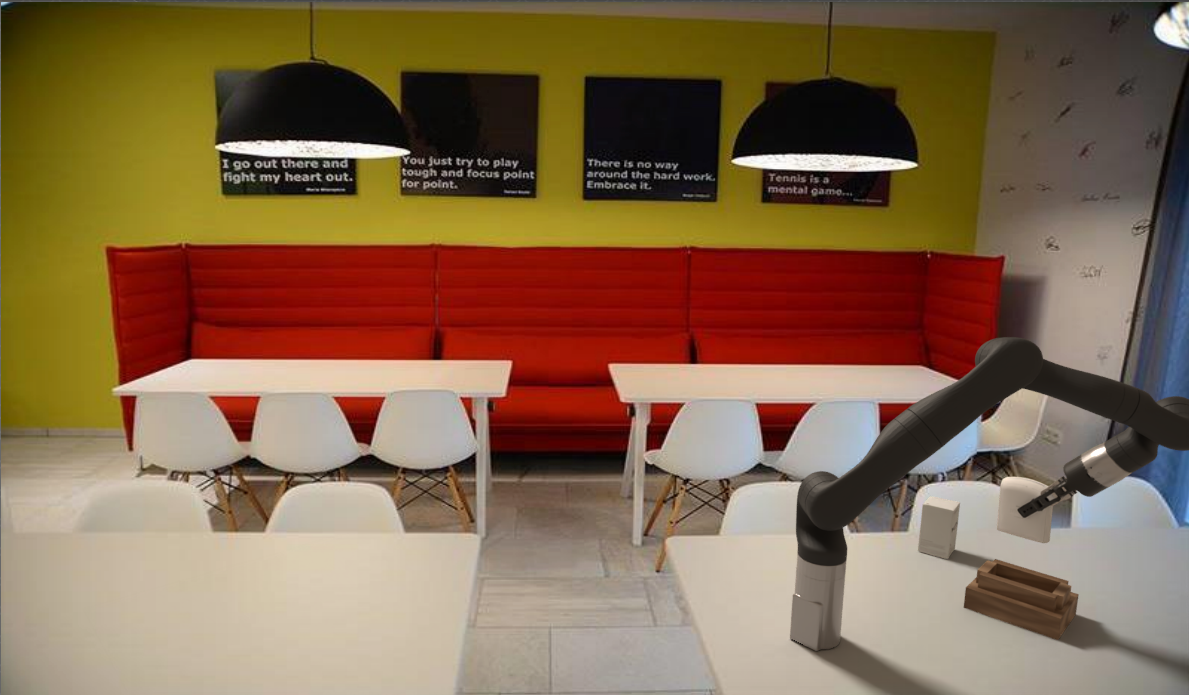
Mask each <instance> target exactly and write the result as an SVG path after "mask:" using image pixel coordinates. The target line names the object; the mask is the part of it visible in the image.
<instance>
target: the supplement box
mask: <svg viewBox="0 0 1189 695" xmlns="http://www.w3.org/2000/svg"><path fill="white" fill-rule="evenodd" d="M960 505H961V502H960V501H956V500H951V499H946V498H942V497H937V496H933V495H932V496H931V495H930V496H929V497H928V498H927V499H926V500H925V501H924V502H923V503H922V506H921V508H922V509H921V517H920V526H919V537H918V544H917V545H918V546H917V552H919V553H922V554H926V555H930V556H934V557H937V558H942V559H944V560H948V559H949V558H950V556H951V555H952V553H953V552H954V551H955V550H956V544H957V543H956V542H957V535H958V525H959V517H960V515H959V514H960V508H961V506H960Z"/></svg>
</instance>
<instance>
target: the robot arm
mask: <svg viewBox="0 0 1189 695" xmlns="http://www.w3.org/2000/svg"><path fill="white" fill-rule="evenodd" d="M974 364H975V366H974V368H972V369H971V370H970V371H969V372H968V373H967V374H964V376H962V377H961V378H960V379H959V380H957V381H956V382H953V383H952V384H950V385H948V386H947V385H946V387H944V388H941V389H939V390H937V391H934V392H933V393H931V394H929V395H927V396H925V397H923V398H922V399H920V400H918V401H916V402H915V403H912V404H911V405H910V406H909V407H908V408H906V409H905V410H904V411H902V412H901V413H900V414H899V415H897V416H896V417H895V418H893V419H892V420H891V421H890V422H888V424H887V425H885V427H884V428H883V429H882V430H881V431H880V432H879V434H878V436H877V437H876V438H875V440H874V442H873V444H872V446H871V447H870V449H869V450H868V452H867V453H866V455H865V456H864V457H863V458H862V459H861V461H860V462H858V463H857V464H855V466H854V467H853V468H851V469H850V470H848V471H847V472H846V473H844V474H843V475H841V476H840V477H838V476H836V475H835V474H834V473H831V472H829V471H822V470H820V471H814V472H812V473H810V474H808V475H807V476H806V477H805V478H803V480H802V481H801V482H800V485H799V488H798V491H797V498H796V511H795V512H796V513H795V515H796V516H795V534H796V542H797V550H796V551H797V555H796V567H795V568H796V570H795V582H794V583H795V584H794V593H793V594H792V600H791V602H792V603H791V616H790V633H789V639H791V640H792V639H793V640H792V641H794V640H795V641H794V642H796V641H797V642H796V643H798V642H799V643H798V644H800V643H801V644H800V645H802V644H803V646H805V647H806V648H809V649H811V650H813V651H815V652H818V651H820V650H829V649H833V647H834V648H836V647H837V646H839V644H840V642H841V634H842V633H841V632H842V624H843V623H842V622H843V621H842V620H843V619H842V618H843V609H844V597H845V596H844V595H845V585H846V584H845V583H846V570H847V559H848V543H847V540H846V537H845V533H844V527H846V526H848V525H849V524H850V523H851V524H852V522H853V521H854V520H856V519H857V518H858V517H859V516H860V515H861V514H862V513H863V512H864V511H865V510H866V509H867V508H868V507H869V506H870V505H871V504H873V502H874V501H875V500H876V499H877V498H879V497H880V496H881V495H882V494H883V493H884V492H885V491H886V490H888V489H889V488H890V487H892V486H893V485H894V484H896V483H897V482H898V481H900V480H901V479H902V478H904V476H906V475H907V474H909V473H910V472H911V471H913V469H915V468H917V466H918V465H920V464H922V463H923V462H924V461H926V460H928V458H930V457H932V456H933V455H934V454H936V453H937V452H938V451H939V450H941V448H943V447H945V446H946V445H947V444H948V443H949V442H950V441H951V440H952V439H953V440H954V438H955V437H957V436H958V435H959V434H960V433H962V432H963V431H965V429H967V428H968V427H969V426H970V425H972V424H973V423H975V421H976V420H978V419H979V417H981V416H982V415H983V414H984V413H986V412H988V411H989V410H990V409H991V408H993V407H994V406H996V405H997V404H999V403H1001V402H1002V401H1004V400H1005V399H1007V398H1009V397H1010V396H1012V395H1014V394H1016V393H1017V392H1018V391H1020V390H1022V389H1023V390H1027V391H1031V392H1035V393H1038V394H1041V395H1045V396H1047V397H1051V398H1053V399H1056V400H1058V401H1062V402H1064V403H1067V404H1069V405H1072V406H1075V407H1077V408H1080V409H1082V410H1084V411H1086V412H1089V413H1092V414H1095V415H1097V416H1099V417H1100V416H1101V417H1102V418H1106V419H1108V420H1109V421H1110V420H1111V421H1114V422H1116V423H1118V424H1119V423H1120V424H1122V425H1125V426H1128V427H1127V428H1126V429H1125V430H1123V431H1122V432H1120V433H1118V434H1116V435H1115V436H1112V437H1111V438H1109V439H1108V440H1106V441H1104V442H1102V443H1100V444H1098V445H1095V446H1093V447H1091V448H1090V449H1088V450H1086V451H1084V452H1083V453H1082V454H1080V455H1078V456H1076V457H1074V458H1073V459H1071V460H1069V461H1068V462H1066V463H1064V465H1063V467H1062V468H1063V473H1064V476H1061V477H1060V478H1057V479H1056V480H1055V481H1054V482H1052V484H1050V485H1048V486H1049V487H1048V488H1046V489H1044V490H1042V491H1041V495H1039V496H1038V497H1036V498H1033V499H1032V500H1031V501H1030V502H1028V503H1027V504H1025V505H1023V506H1021V507H1020V508H1018V509H1017V511H1018V512H1019V513H1020V515H1021V516H1022V517H1023V518H1026V517H1028V516H1030V515H1031V514H1033V513H1035V512H1037V511H1038V512H1039V511H1042V510H1043V509H1045V508H1047V507H1048V506H1053V507H1054V506H1055V505H1057V504H1059V503H1060V502H1063V501H1067V500H1069V499H1071V498H1072V497H1074V495H1076V494H1078V492H1079V494H1080V495H1082V496H1084V497H1089V498H1090V497H1091V498H1092V497H1095V495H1097V494H1099V493H1101V492H1103V491H1104V490H1106V489H1108V488H1110V487H1112V486H1114V485H1116V484H1117V483H1120V482H1121V481H1123V480H1124V479H1126V478H1127V477H1128V476H1129V475H1131V474H1132V473H1134V472H1136V471H1138V470H1140V469H1142V468H1144V467H1145V466H1147V465H1149V464H1151V463H1152V462H1154V461H1155V460H1156V458H1158V449H1159V445H1160V446H1162V447H1164V448H1166V449H1170V450H1174V451H1181V452H1184V451H1185V452H1187V451H1189V398H1187V397H1185V396H1176V395H1175V396H1167V397H1164V398H1161V399H1159V400H1157V401H1156V400H1155V399H1154V398H1153V397H1152V395H1151V394H1150V393H1149V392H1147V391H1145V390H1143V389H1142V388H1141V389H1140V388H1139V387H1136V386H1132V385H1130V384H1128V383H1124V382H1121V381H1119V380H1116V379H1112V378H1109V377H1106V376H1102V375H1098V374H1095V373H1091V372H1087V371H1083V370H1079V369H1075V368H1072V367H1068V366H1065V365H1062V364H1058V363H1055V362H1054V361H1050V360H1047V359H1045V358H1044V356H1043V352H1042V350H1041V349H1040V347H1039V346H1038V345H1037V344H1036V343H1034V341H1030V340H1029V339H1026V338H1024V337H1023V338H1022V337H1015V336H1011V337H1010V336H1007V337H1006V336H1005V337H1004V336H1003V337H996V338H993V339H990V340H988V341H985V342H984V343H983V344H982V345H981V346H980V347H979V348H978V350H977V351H976V354H975V357H974ZM1039 500H1041V502H1042V503H1043V504H1044V505H1042V504H1041V503H1040V501H1039Z"/></svg>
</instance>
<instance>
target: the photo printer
mask: <svg viewBox="0 0 1189 695" xmlns="http://www.w3.org/2000/svg"><path fill="white" fill-rule="evenodd" d="M1049 486H1050V485H1047V484H1045V483H1042V482H1040V481H1037V480H1036V479H1032V478H1028V477H1023V476H1022V477H1021V476H1006V477H1004V478H1002V479H1001V483H1000V487H999V494H998V498H999V499H998V507H997V521H996V530H997V531H999V532H1002V533H1006V534H1009V535H1012V536H1015V537H1019V538H1022V539H1025V540H1030V541H1032V542H1037V543H1040V544H1048V543H1050V540H1051V531H1052V520H1053V510H1054V509H1053V508H1054V506H1048V507H1047V508H1045V509H1043V510H1042V511H1039V512H1038V511H1037V512H1035V513H1033V514H1031V515H1030V516H1028V517H1026V518H1023V517H1022V516H1021V515H1020V513H1019V512H1018V511H1017V509H1018V508H1020V507H1021V506H1023V505H1025V504H1027V503H1028V502H1030V501H1031V500H1032V499H1033V498H1036V497H1038V496H1039V495H1041V491H1042V490H1044V489H1046V488H1048V487H1049ZM1039 501H1040V503H1041V504H1042V505H1044V504H1043V503H1042V502H1041V500H1039Z"/></svg>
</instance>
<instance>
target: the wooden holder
mask: <svg viewBox="0 0 1189 695" xmlns="http://www.w3.org/2000/svg"><path fill="white" fill-rule="evenodd" d="M1079 595H1080V594H1079V593H1076V592H1072V585H1070V584H1069V580H1066V579H1063V578H1061V577H1057V576H1053V575H1049V574H1046V573H1043V572H1040V571H1036V570H1033V569H1030V568H1026V567H1023V566H1019V565H1016V564H1014V563H1010V562H1007V561H1004V560H1000V559H997V558H995V559H993V561H992V560H991V561H990V560H988V559H987V560H986V561H985V562H983V564H982V565H981V566H980V567H978V569H977V571H976V577H975V578H974V579H973V580H972V581H971V582H970V583H969V584H968V585H967V586H965V591H964V599H963V600H964V602H963V608H964V609H967V610H969V611H972V612H975V613H978V614H981V615H984V616H987V617H990V618H992V619H994V620H995V619H996V620H998V621H1001V622H1004V623H1007V624H1009V625H1012V626H1016V627H1019V628H1021V629H1025V630H1027V631H1031V633H1032V632H1033V633H1036V634H1039V635H1041V636H1045V637H1046V638H1047V637H1048V638H1049V639H1053V640H1057V641H1059V639H1060V638H1061V636H1062V635H1063V634H1064V633H1065V631H1066V629H1067V628H1068V626H1069V625H1070V623H1072V621H1073V619H1074V618H1075V617H1076V615H1077V608H1078V602H1079ZM1074 616H1075V617H1074Z"/></svg>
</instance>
